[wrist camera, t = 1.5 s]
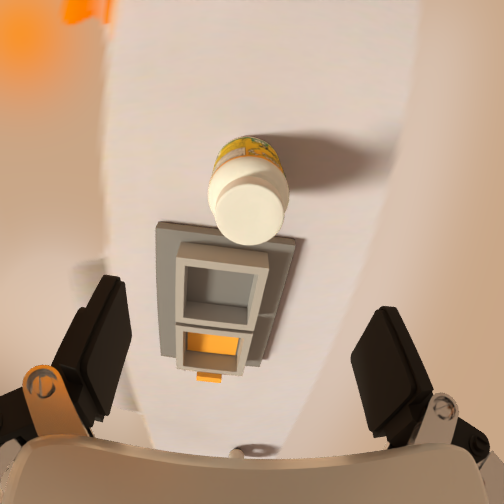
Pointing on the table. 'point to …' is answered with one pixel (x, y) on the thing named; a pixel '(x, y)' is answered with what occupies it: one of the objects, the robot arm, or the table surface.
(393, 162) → the table surface
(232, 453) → the donut
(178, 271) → the compartment tray
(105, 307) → the robot arm
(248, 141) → the supplement bottle
